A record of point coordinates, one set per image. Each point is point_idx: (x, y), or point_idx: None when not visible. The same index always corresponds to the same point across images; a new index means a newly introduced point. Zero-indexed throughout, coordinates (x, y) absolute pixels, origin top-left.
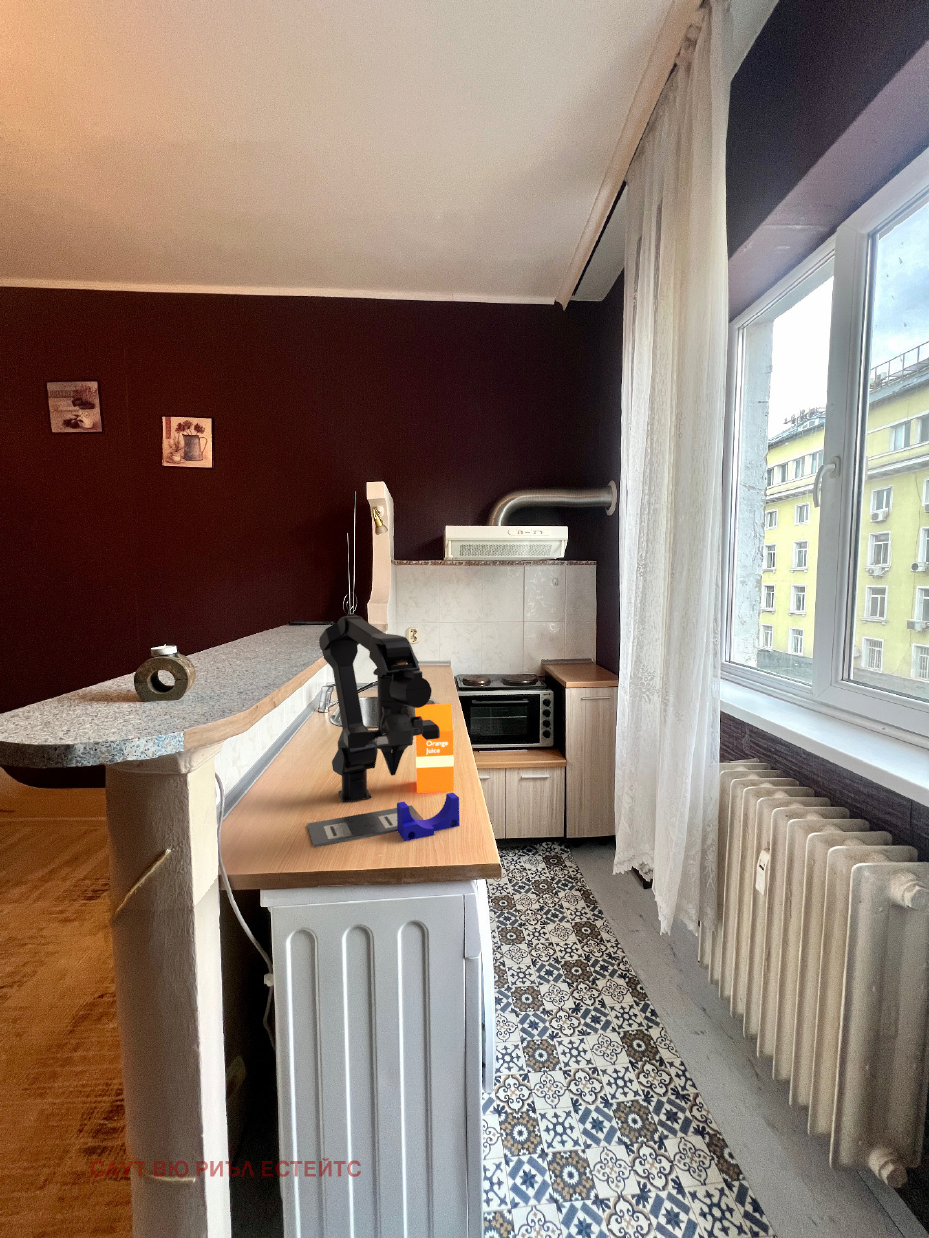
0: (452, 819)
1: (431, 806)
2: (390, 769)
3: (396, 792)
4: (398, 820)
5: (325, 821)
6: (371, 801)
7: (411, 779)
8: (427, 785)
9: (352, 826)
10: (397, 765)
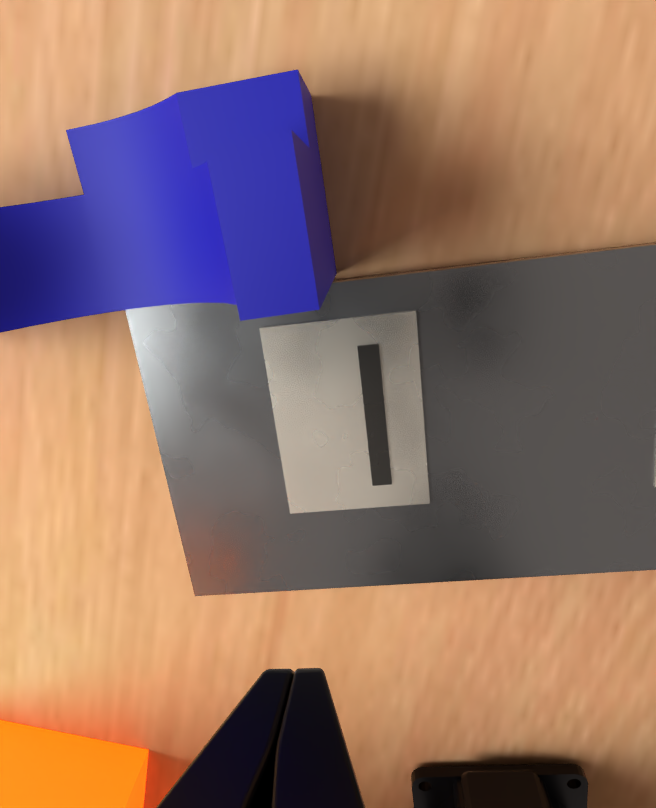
0: None
1: (80, 563)
2: (331, 737)
3: None
4: (325, 251)
5: None
6: (418, 730)
7: None
8: (68, 777)
9: (625, 418)
10: (188, 789)
